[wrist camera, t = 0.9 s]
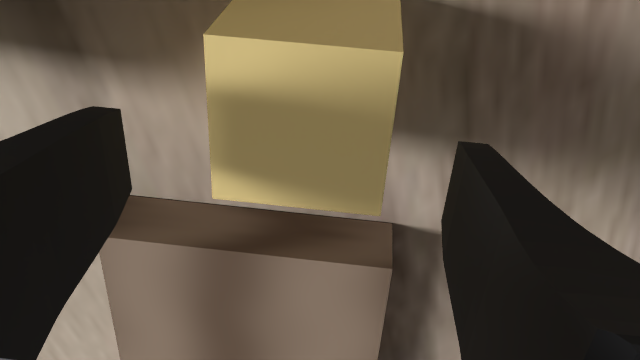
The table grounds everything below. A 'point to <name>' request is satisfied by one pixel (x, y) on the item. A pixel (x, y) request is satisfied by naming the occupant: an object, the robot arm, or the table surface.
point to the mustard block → (303, 101)
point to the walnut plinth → (245, 283)
